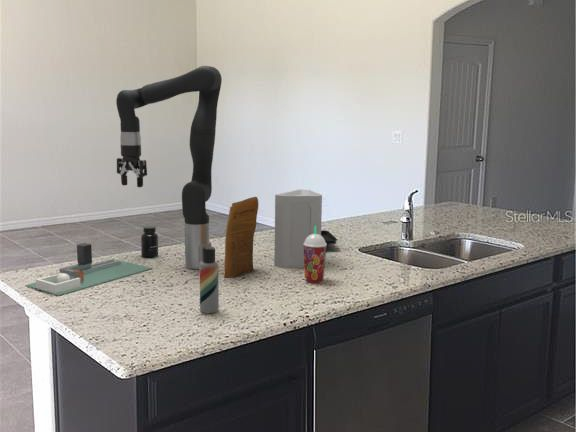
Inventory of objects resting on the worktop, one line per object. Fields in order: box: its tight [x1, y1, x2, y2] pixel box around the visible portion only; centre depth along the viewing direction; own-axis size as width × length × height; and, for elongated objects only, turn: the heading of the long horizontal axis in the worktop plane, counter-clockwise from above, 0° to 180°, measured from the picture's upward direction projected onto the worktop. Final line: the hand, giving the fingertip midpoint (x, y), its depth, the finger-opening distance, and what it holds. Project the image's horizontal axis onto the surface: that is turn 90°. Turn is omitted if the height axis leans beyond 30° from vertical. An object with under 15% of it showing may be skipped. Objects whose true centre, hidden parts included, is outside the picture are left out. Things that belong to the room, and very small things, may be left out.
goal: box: [35, 272, 81, 294], centre depth 209 cm, size 10×10×3 cm
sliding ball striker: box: [59, 242, 93, 282], centre depth 221 cm, size 12×12×10 cm
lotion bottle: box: [199, 246, 220, 314], centre depth 189 cm, size 6×6×20 cm
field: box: [25, 260, 153, 297], centre depth 223 cm, size 18×41×1 cm, turn 146°
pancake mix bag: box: [223, 196, 259, 278], centre depth 229 cm, size 7×19×28 cm, turn 144°
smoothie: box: [303, 226, 327, 284], centre depth 221 cm, size 8×8×20 cm
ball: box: [56, 273, 70, 283], centre depth 211 cm, size 4×4×4 cm
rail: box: [49, 258, 122, 278], centre depth 228 cm, size 4×28×2 cm, turn 146°
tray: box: [321, 230, 338, 247], centre depth 276 cm, size 30×23×5 cm
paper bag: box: [273, 189, 323, 269], centre depth 243 cm, size 19×15×28 cm
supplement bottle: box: [140, 225, 159, 259], centre depth 253 cm, size 7×7×12 cm
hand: (132, 186), depth 239 cm, fingers open, 8 cm apart
